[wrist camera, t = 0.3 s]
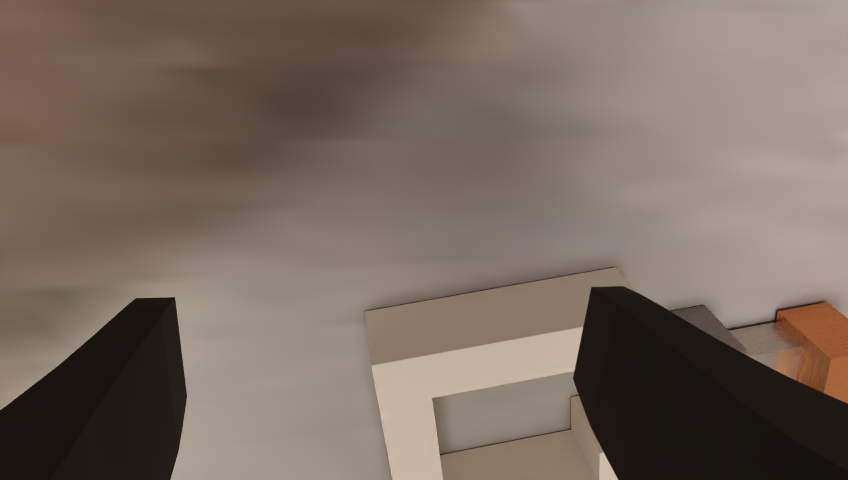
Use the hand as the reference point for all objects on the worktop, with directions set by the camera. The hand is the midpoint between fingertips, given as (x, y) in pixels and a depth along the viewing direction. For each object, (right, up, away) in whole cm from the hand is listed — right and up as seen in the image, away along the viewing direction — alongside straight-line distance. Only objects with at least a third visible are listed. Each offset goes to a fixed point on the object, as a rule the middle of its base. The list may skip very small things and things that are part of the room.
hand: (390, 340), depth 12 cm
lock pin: (+13, -2, +15) cm, 20 cm away
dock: (+3, -4, +14) cm, 15 cm away
